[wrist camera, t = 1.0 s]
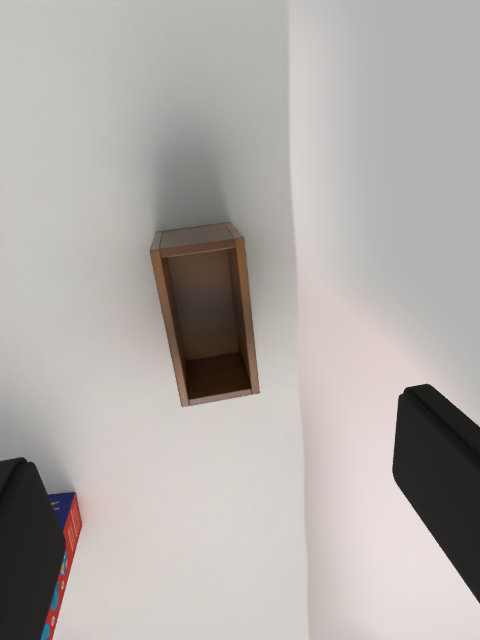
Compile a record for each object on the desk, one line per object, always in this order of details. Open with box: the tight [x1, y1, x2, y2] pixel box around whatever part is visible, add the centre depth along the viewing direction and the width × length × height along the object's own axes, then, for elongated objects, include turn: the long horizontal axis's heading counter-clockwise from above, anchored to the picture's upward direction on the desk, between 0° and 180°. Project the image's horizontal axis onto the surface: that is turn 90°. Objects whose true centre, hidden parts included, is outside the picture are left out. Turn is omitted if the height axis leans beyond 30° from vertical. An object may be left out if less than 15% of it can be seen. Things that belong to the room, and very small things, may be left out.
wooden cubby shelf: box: [150, 222, 260, 407], centre depth 24 cm, size 10×5×6 cm, turn 6°
